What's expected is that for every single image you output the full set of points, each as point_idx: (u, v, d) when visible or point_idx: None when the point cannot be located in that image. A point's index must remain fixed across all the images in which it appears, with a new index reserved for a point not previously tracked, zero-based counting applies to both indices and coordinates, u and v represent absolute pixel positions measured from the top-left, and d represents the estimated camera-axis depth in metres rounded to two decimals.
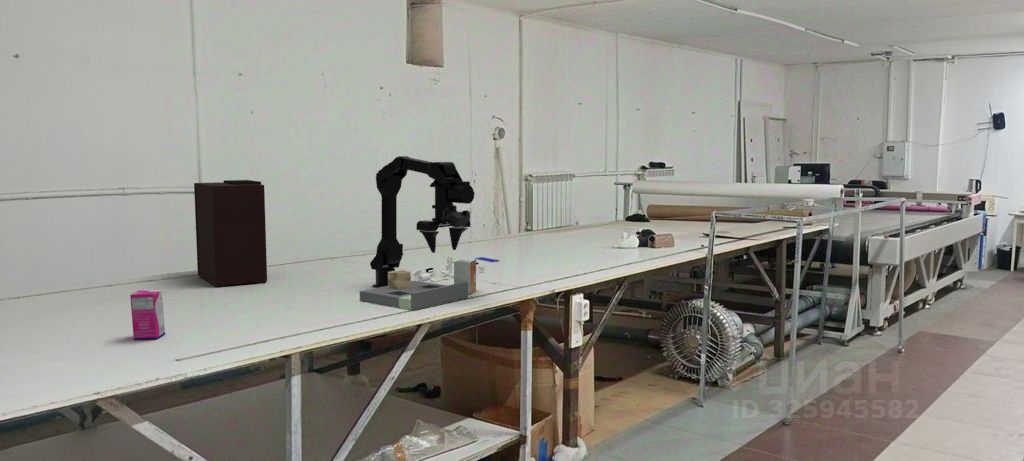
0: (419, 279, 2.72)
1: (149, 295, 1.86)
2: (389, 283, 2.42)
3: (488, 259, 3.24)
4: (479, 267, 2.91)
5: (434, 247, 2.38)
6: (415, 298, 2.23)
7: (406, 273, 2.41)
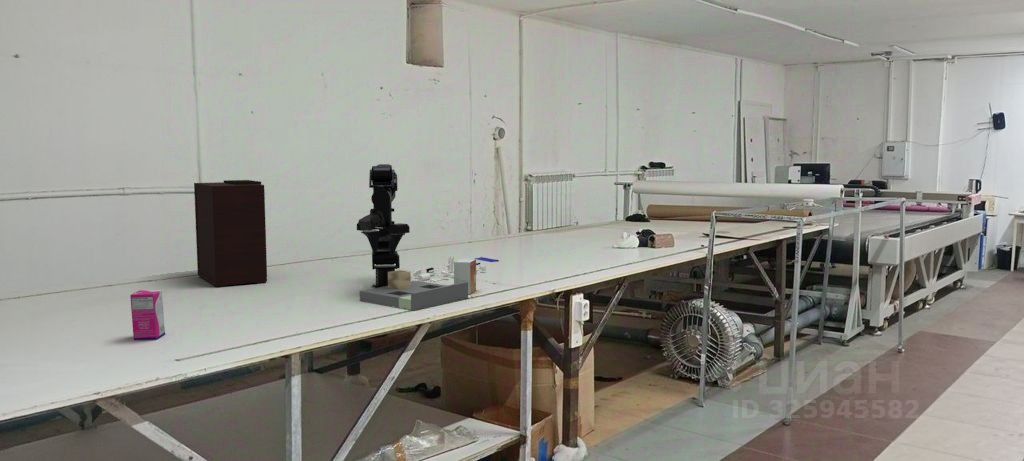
0: (419, 279, 2.73)
1: (149, 295, 1.86)
2: (389, 283, 2.42)
3: (488, 259, 3.24)
4: (480, 267, 2.91)
5: (372, 247, 2.48)
6: (415, 298, 2.23)
7: (406, 273, 2.41)
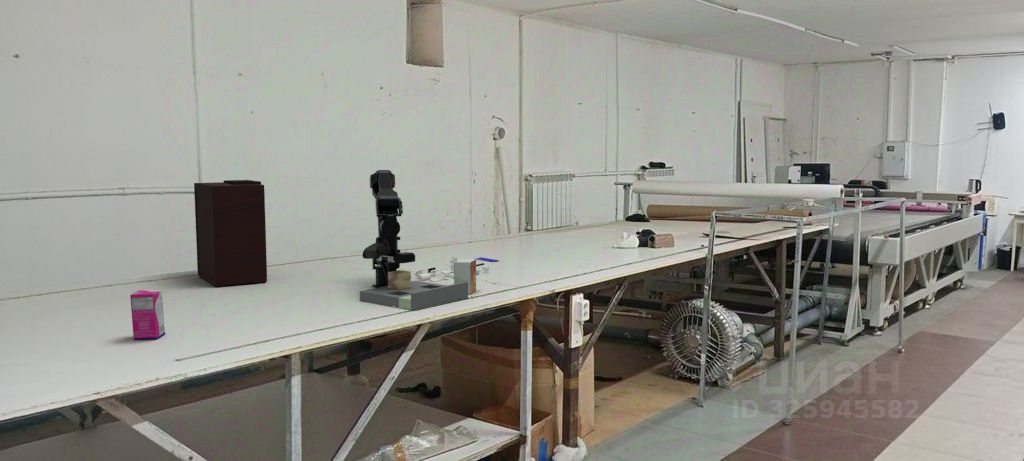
0: (419, 279, 2.73)
1: (149, 295, 1.86)
2: (389, 283, 2.42)
3: (488, 259, 3.23)
4: (483, 268, 2.89)
5: (385, 277, 2.45)
6: (415, 298, 2.23)
7: (406, 273, 2.41)
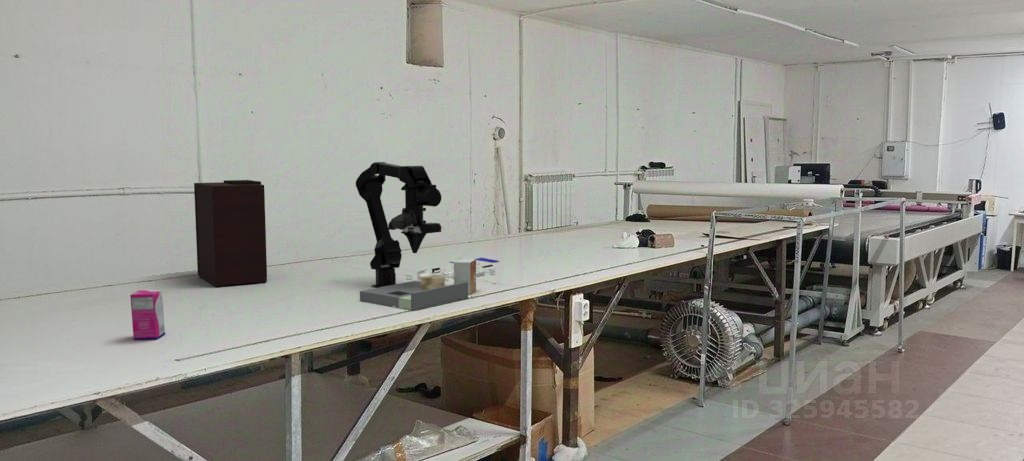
0: (418, 278, 2.74)
1: (149, 295, 1.86)
2: (422, 288, 2.33)
3: (488, 260, 3.22)
4: (489, 269, 2.86)
5: (411, 247, 2.48)
6: (415, 298, 2.23)
7: (440, 277, 2.32)
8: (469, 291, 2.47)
